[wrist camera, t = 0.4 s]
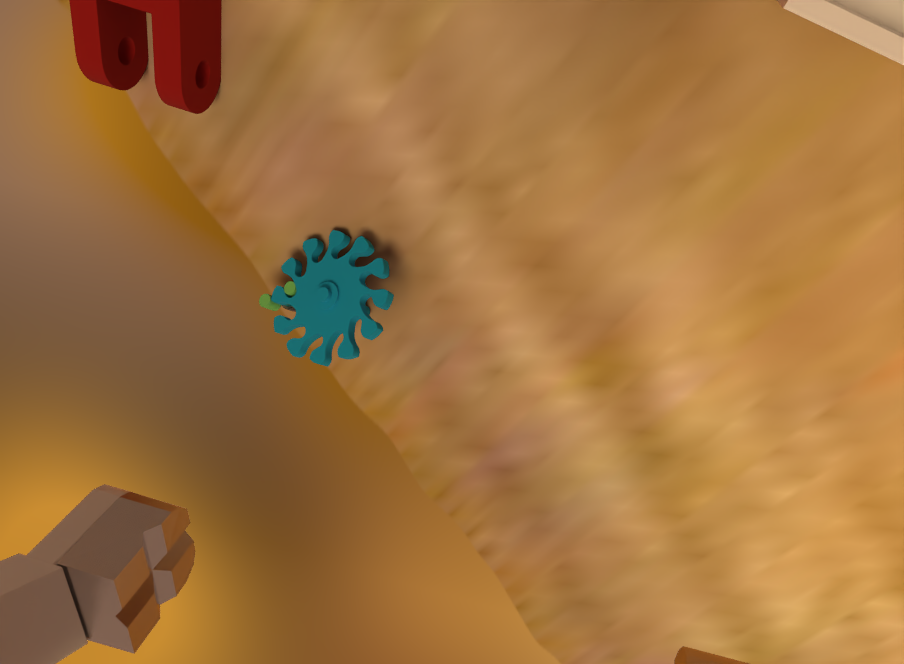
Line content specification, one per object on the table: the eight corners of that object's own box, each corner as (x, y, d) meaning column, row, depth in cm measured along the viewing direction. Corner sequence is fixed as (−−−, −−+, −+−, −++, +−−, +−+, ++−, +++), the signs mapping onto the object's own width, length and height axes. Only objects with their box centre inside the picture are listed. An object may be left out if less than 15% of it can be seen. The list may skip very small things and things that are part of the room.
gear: (393, 226, 48) (372, 368, 46) (429, 252, 53) (411, 380, 51) (266, 227, 52) (243, 357, 51) (311, 251, 58) (291, 368, 56)
